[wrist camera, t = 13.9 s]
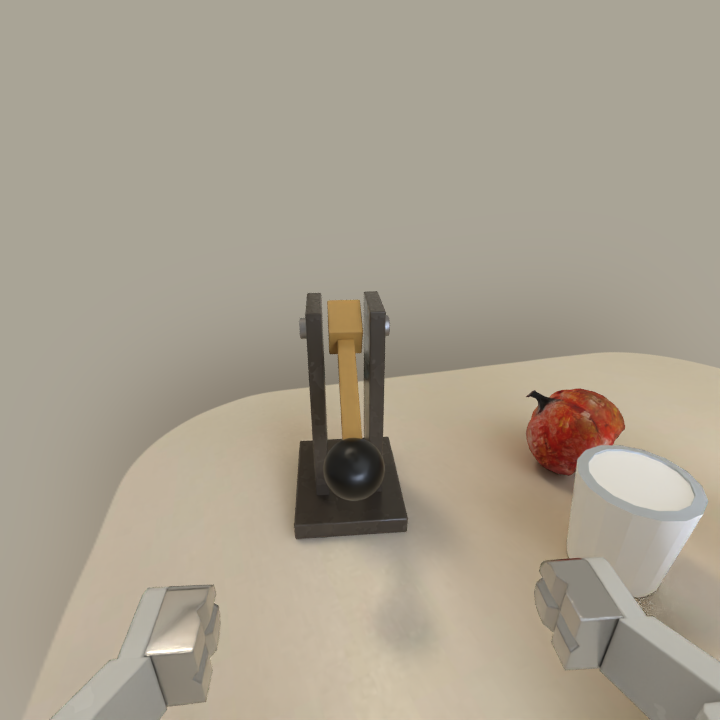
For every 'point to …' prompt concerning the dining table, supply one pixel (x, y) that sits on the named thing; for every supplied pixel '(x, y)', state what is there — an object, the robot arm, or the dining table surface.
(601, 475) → the white cup
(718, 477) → the dining table surface
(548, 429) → the pomegranate
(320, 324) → the grey lever stand
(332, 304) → the latch lever
